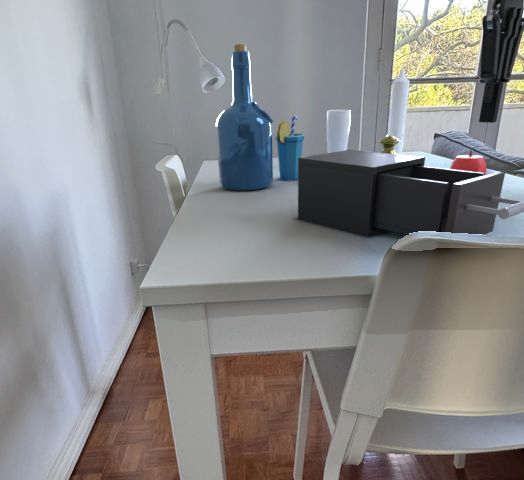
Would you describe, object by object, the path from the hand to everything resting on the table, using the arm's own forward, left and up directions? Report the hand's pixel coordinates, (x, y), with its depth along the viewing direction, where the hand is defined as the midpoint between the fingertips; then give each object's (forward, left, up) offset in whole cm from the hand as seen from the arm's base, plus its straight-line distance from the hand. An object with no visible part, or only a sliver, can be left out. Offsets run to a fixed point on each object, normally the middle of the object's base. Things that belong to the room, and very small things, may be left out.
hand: (487, 121), depth 90 cm
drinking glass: (+41, -36, -15) cm, 57 cm away
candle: (+25, -40, -15) cm, 50 cm away
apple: (+3, -13, -15) cm, 20 cm away
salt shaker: (+23, -21, -15) cm, 35 cm away
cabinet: (+19, +23, -15) cm, 33 cm away
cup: (+47, -14, -15) cm, 51 cm away
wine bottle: (+53, 0, -15) cm, 55 cm away
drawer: (+2, +30, -14) cm, 33 cm away
